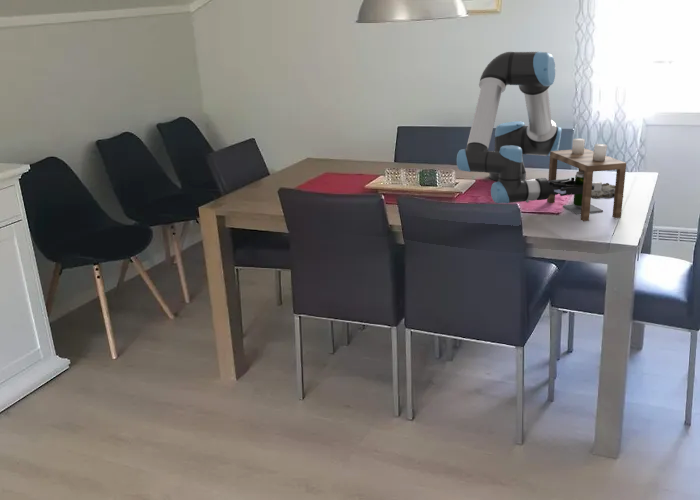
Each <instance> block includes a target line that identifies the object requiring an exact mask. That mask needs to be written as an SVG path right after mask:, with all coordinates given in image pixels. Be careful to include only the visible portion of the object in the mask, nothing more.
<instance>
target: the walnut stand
mask: <svg viewBox="0 0 700 500" xmlns="http://www.w3.org/2000/svg"><path fill="white" fill-rule="evenodd" d="M593 153H594V150H592V149H588V148H585V147H584V154H581V155H576V154H572V149H561V150H559V149H558V151H550V156H549V164H548V165H549V167H548V178H547V180H557V174H558V173H557V172H558V161H559V162H562V163H565V164H567V165H569V166H571V167H574V168H577V169H578V172H579V171H584V183H583V195H582V208H581V214H580V221H583V222H590V214H591V213H590V204H591V203H592V202H591V201H592V198H591V191H592V183H593V181H592V179H593V176H594V172H603V171H605V172H606V171H616V174H615V175H616V177H615V194H614V197H613V205H612V214H611V215H612V218H614V219H620V218H622V213H623V212H622V211H623V210H622V209H623V201H624V200H623V199H624V191H625V182H626V179H625V178H626V170H627V162H625V161H622V160H619V159H617V158H614V157H611V156H609V155H608V156H607V155H606V157H605V161H596V160H593ZM546 202H547V203H548V204H555V202H556V195H552V194H550V196H549V197H548V198H547V199H546Z"/></svg>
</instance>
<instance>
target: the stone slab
mask: <svg viewBox="0 0 700 500" xmlns="http://www.w3.org/2000/svg"><path fill="white" fill-rule="evenodd" d="M614 194H615V185H614V184H610V183H609V182H606V183H602V187H601V190H598V191H591V199H611V198H614Z"/></svg>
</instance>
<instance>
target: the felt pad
mask: <svg viewBox="0 0 700 500" xmlns="http://www.w3.org/2000/svg"><path fill="white" fill-rule="evenodd" d="M562 208H564V209H566V210H568V211H570V212H571V213H573V214H575V215H581V208H578V207H575V206H574V204H573V203H572V204H563V205H562ZM603 212H604V209H601V208H599V207H597V206H595V205H593V204H591V203H590V214H595V213H603Z"/></svg>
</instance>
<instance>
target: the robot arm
mask: <svg viewBox="0 0 700 500" xmlns="http://www.w3.org/2000/svg"><path fill="white" fill-rule="evenodd" d="M555 79H556V63H555V58H554V56H553V55H552V53H550V52H546V51H540V50H539V51H506V52H502V53H500V54H499V55H497V56H495V57H494V58H493V59H492V60H491V61H490V62H488V64H487V65H486V67H485V68H484V69H483V71H482V73H481V75H480V78H479V83H478V87H479V88H480V91H479V94H478V97H477V103H476V107H475V112H474V114H473V115H474V116H473V119H472V123H471V127H470V130H469V136H468V139H467V144H466V148H463V149H460V150H458V152H457V155H456V167H457V169H458V170H459V171H463V172H468V173H473V172H474V173H488V174H489V177H488V178H489V179H490V180H492V181H494V182H493V183H492V184H491V188H490V195H491V196H490V197H491V199H492V201H493V202H494V203H495V204H512V203H520V202H525V203H529V202H530V201H543V200H546V201H547V198H548V197H549V196H550V194H552V195H555V196H557V195H559V196H560V197H565V196H572V195H573V196H574V195H575V194H583V185H575V177H571V178H560V179H556V180H548V178H546V177H541V178H540V177H539V178H538V177H537V178H527V171H526V168H525V163H524V160H523V159H524V158H523V156H524V155H530V156H544V157H550V151H559V149H560V144H561V143H560V142H561V137H562V131H563V128H562V127H560V126H557V124H556V122H555V121H554V120H552V114H551V113H552V112H551V106H550V105H551V104H550V97H549V88H550V87H551V86H552V85H553V84H554V83H555ZM507 86H518V89H519V90H520V92H521V93H523V95H524V100H525V106H526V111H527V119H528V125H526V124H525V122H524V121H520V120H519V121H516V120H515V121H508V122H503V123H500V124H498V125H497V126H496V127H495V131H494V150H489V148H490V145H491V144H490V143H491V139H492V135H493V130H494V126H495V122H496V117H497V114H498V109H499V106H500V105H499V104H500V102H501V101H500V100H501V96H502V93H504V92H505V90H506V87H507ZM602 184H603V182H600V181H599V182H594V181H593V179H592V191H598V190H601V187H602Z"/></svg>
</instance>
